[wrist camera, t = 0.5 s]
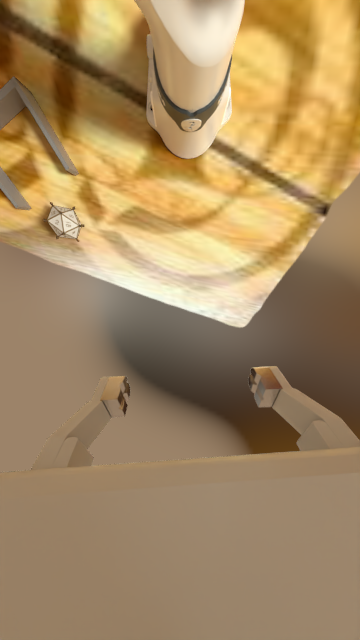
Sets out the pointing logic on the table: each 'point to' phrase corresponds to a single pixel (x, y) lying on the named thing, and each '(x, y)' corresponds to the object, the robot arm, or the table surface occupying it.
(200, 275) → the table surface
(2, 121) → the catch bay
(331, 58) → the table surface
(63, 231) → the game die
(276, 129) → the table surface
